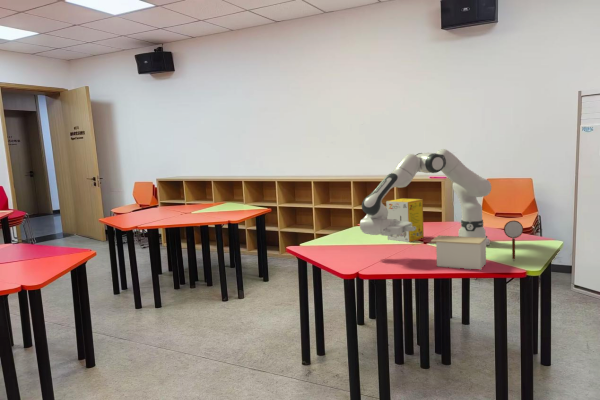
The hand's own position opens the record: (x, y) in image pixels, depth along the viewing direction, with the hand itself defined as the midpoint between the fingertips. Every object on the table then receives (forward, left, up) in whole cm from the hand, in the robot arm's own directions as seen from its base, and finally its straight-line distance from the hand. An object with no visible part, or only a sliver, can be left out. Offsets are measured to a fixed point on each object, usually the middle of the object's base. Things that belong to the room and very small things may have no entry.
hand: (415, 228), depth 225 cm
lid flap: (0, +21, -5) cm, 22 cm away
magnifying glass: (-16, +43, -17) cm, 49 cm away
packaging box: (-54, -25, -17) cm, 62 cm away
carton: (0, +22, -17) cm, 28 cm away
